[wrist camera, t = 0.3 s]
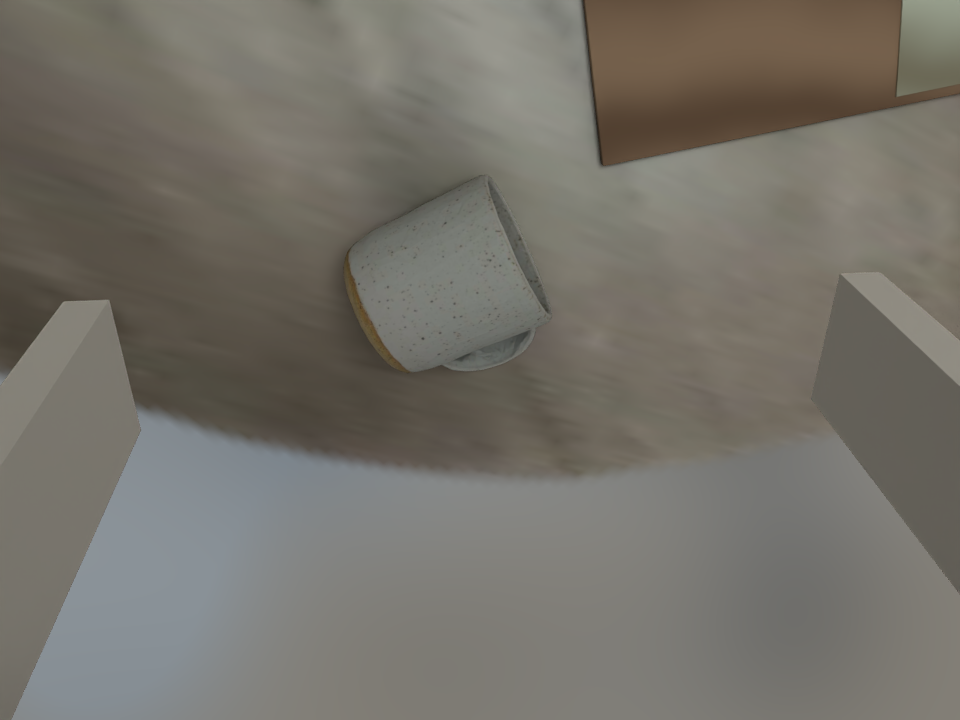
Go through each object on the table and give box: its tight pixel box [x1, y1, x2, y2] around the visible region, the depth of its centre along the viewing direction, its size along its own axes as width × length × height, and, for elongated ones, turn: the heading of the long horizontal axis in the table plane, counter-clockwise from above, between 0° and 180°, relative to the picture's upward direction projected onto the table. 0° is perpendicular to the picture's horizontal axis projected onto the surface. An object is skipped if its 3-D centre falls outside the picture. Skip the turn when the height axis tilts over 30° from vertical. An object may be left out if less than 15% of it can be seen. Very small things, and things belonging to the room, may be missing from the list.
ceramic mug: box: [343, 175, 552, 373], centre depth 42 cm, size 11×8×8 cm
